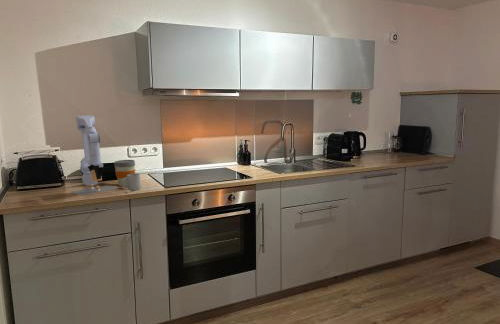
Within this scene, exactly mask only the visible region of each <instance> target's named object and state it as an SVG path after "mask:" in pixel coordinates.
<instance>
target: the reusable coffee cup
mask: <svg viewBox="0 0 500 324" xmlns="http://www.w3.org/2000/svg"><path fill="white" fill-rule="evenodd" d="M114 168H115V170H114V173H115V176H116V178H117V182H118V186H120V187H124V186H123V179H124V178H125V177H127V175H128V174H136V161H135V160H134V159H122V160H115V161H114ZM126 185H128V180H126Z"/></svg>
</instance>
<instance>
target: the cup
mask: <svg viewBox="0 0 500 324" xmlns="http://www.w3.org/2000/svg"><path fill="white" fill-rule="evenodd" d="M140 174H141V173H135V174H128V175H127V177H125V178H124V179H123V186H122V187H124V188H126V189H127V190H128V191H132V192H134V191H139V190H141V189H142V188H141V185H142V184H141V175H140ZM126 180H128V185H126Z"/></svg>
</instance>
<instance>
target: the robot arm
mask: <svg viewBox="0 0 500 324" xmlns="http://www.w3.org/2000/svg"><path fill="white" fill-rule="evenodd" d="M75 121H76V127H77V130H78V131H80V132H81V136H82V145H83V152H84V157H82V159H81V160H80V171H81V173H82V176H81V177H82V185H84V186H89V187H90V184H93V186H95V185H96V186H97V185H98V181H92V177H91V170H94V171H95V173H96V178H97V179H101V176H102V177H103V171H104V169H105V166H104V163H102V160H101V159H102V158H101V151H100V150H101V149H100V147H101V146H100V143H101V136H100V133H99V132H97V130H96V128H95V125H96V120H95V116H94V115H93V114H92V115H76V119H75Z"/></svg>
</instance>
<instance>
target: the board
mask: <svg viewBox="0 0 500 324" xmlns="http://www.w3.org/2000/svg"><path fill="white" fill-rule="evenodd" d="M118 189H119V188H117V187H115V186H112V185H108V184H107V185H101V186H99V185H96V186H95V187H94V185H93V184H90V186H89V187H88V188H85V189H79V190H73V191H71V194H75V195H77V196H80V197H82V196H86V195H87V196H88V195H91V194H97V193H102V192H108V191H112V190H118Z"/></svg>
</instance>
